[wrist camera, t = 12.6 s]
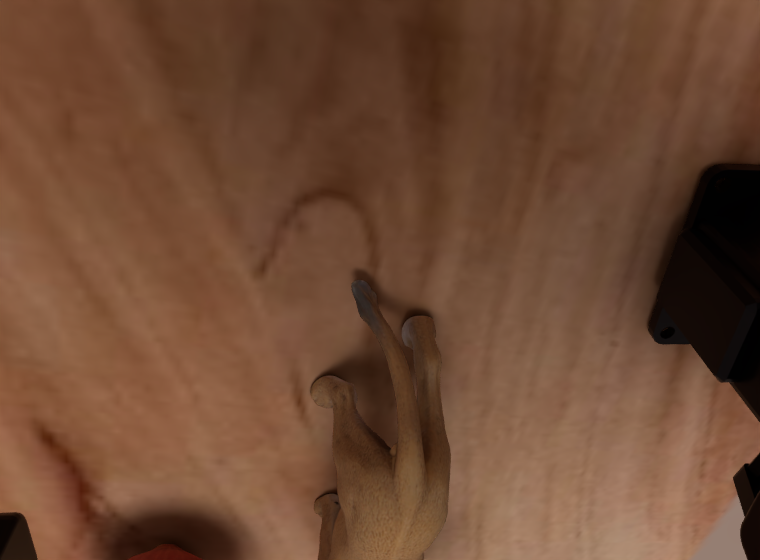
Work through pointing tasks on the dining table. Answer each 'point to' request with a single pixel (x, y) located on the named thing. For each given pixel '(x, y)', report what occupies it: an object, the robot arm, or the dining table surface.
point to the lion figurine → (387, 453)
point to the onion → (165, 554)
